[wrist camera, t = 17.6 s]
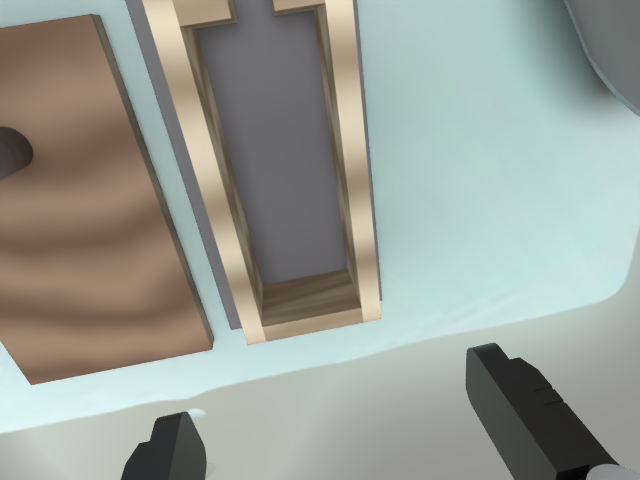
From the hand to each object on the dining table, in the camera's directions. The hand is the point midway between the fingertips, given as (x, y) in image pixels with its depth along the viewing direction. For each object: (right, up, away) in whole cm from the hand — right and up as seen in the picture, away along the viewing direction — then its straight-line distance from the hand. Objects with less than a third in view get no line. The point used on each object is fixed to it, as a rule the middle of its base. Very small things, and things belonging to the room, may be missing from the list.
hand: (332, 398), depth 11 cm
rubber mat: (-4, +10, +21) cm, 23 cm away
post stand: (-21, +5, +21) cm, 30 cm away
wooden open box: (-3, +10, +20) cm, 23 cm away
